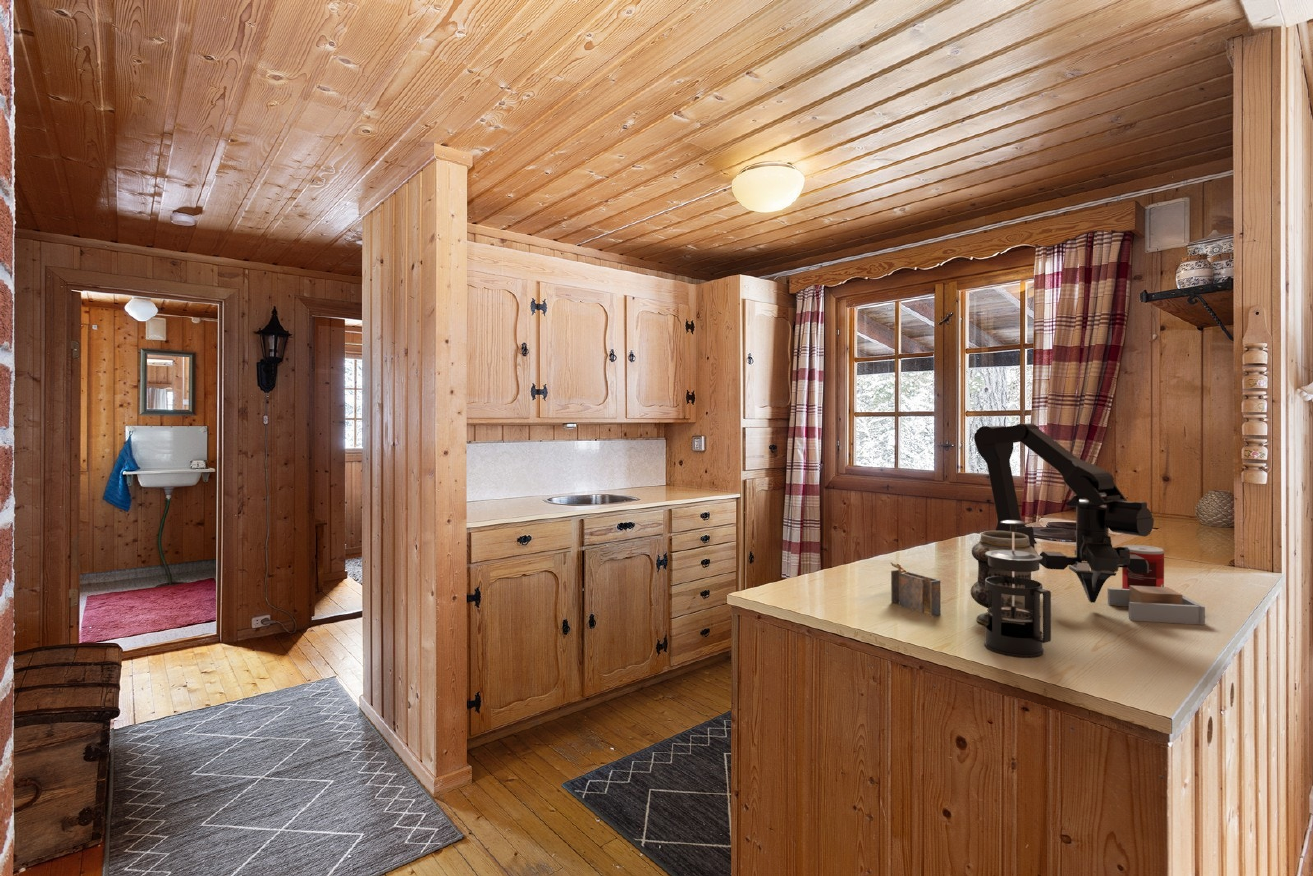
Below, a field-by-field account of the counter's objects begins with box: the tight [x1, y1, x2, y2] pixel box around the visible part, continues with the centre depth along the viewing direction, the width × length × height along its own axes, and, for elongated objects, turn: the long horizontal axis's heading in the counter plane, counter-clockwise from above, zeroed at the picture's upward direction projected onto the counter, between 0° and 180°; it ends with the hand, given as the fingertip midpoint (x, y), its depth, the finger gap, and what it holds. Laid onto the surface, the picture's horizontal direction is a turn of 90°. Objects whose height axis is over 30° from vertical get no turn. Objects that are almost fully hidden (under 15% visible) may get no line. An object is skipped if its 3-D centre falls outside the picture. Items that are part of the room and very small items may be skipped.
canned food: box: [1121, 544, 1165, 589], centre depth 148 cm, size 8×8×11 cm
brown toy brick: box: [1129, 585, 1183, 605], centre depth 135 cm, size 7×7×5 cm
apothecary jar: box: [970, 530, 1039, 626], centre depth 130 cm, size 12×12×18 cm
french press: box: [983, 520, 1052, 659], centre depth 116 cm, size 12×9×23 cm
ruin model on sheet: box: [890, 562, 942, 617], centre depth 141 cm, size 11×3×10 cm, turn 25°
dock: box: [1107, 587, 1206, 626], centre depth 135 cm, size 12×12×4 cm
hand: (1091, 602), depth 138 cm, fingers closed
